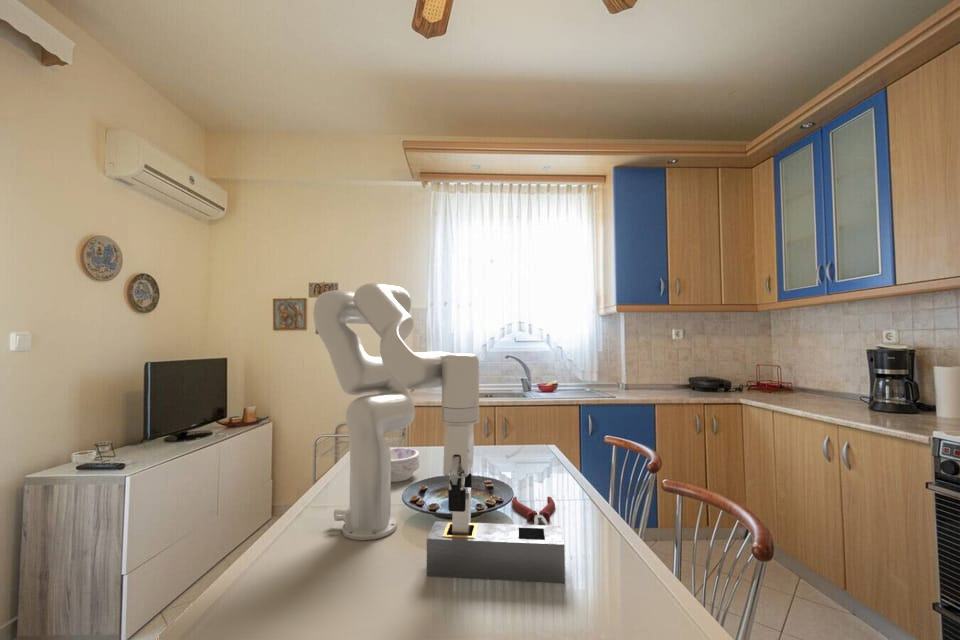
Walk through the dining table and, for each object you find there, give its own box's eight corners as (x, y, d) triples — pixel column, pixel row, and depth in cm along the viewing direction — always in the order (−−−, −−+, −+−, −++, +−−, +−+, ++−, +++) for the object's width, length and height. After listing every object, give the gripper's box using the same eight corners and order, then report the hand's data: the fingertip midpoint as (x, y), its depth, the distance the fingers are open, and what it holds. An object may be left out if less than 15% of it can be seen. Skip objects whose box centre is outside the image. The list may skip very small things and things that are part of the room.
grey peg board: (426, 576, 82) (426, 537, 83) (435, 555, 90) (435, 520, 91) (564, 583, 80) (564, 543, 80) (561, 561, 88) (560, 525, 88)
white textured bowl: (362, 483, 136) (363, 457, 136) (386, 469, 151) (387, 446, 151) (406, 487, 132) (406, 461, 132) (427, 472, 146) (427, 449, 147)
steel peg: (451, 560, 84) (452, 492, 85) (454, 551, 87) (455, 486, 88) (467, 561, 84) (469, 493, 84) (469, 553, 87) (471, 487, 88)
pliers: (518, 537, 99) (518, 526, 99) (511, 504, 119) (511, 494, 119) (568, 537, 99) (568, 526, 99) (552, 504, 119) (552, 494, 119)
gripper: (449, 407, 96) (449, 486, 95) (433, 422, 79) (433, 518, 78) (482, 408, 95) (483, 487, 94) (474, 423, 78) (474, 520, 77)
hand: (460, 501), depth 86 cm, fingers open, 9 cm apart
